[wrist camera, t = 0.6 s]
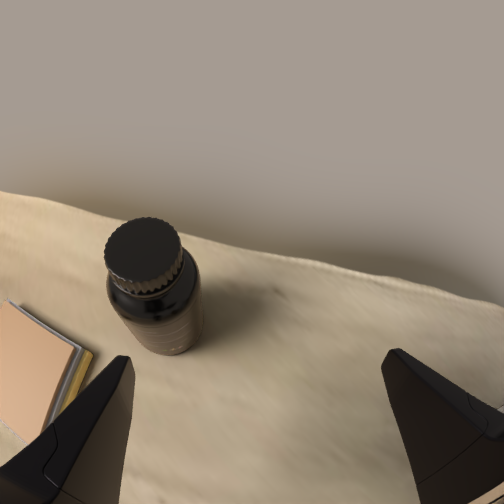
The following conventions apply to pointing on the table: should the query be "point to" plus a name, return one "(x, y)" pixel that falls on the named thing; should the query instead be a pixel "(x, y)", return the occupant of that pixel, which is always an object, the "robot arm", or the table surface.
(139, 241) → the supplement bottle
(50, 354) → the note pad
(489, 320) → the table surface
